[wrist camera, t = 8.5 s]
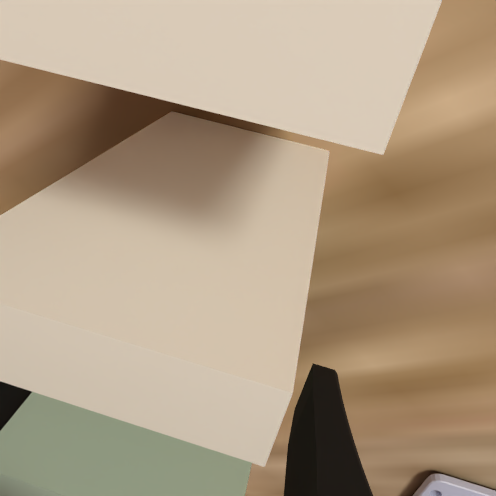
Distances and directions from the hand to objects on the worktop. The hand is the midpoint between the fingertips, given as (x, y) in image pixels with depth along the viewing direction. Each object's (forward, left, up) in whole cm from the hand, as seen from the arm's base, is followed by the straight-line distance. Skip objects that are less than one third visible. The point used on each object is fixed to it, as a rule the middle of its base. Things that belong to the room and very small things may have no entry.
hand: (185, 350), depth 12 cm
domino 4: (+5, 0, -4) cm, 6 cm away
